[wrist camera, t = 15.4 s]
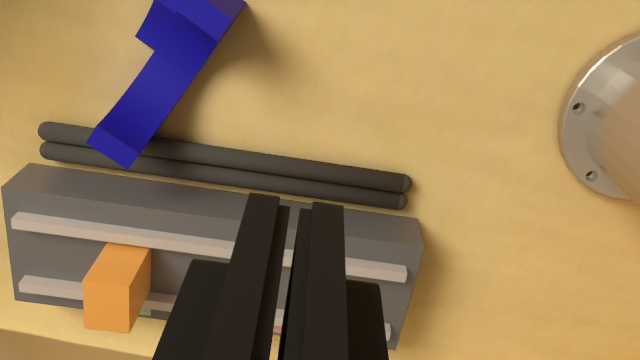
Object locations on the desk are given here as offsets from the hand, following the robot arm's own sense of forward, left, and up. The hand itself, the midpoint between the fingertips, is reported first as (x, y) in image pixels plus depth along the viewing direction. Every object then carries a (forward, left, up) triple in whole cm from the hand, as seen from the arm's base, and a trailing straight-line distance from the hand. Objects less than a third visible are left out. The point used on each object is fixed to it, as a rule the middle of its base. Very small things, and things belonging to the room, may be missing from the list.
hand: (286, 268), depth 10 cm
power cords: (+5, +12, -29) cm, 32 cm away
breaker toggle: (+11, +20, -25) cm, 34 cm away
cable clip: (+10, +5, -30) cm, 31 cm away
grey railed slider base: (+5, +20, -29) cm, 36 cm away
